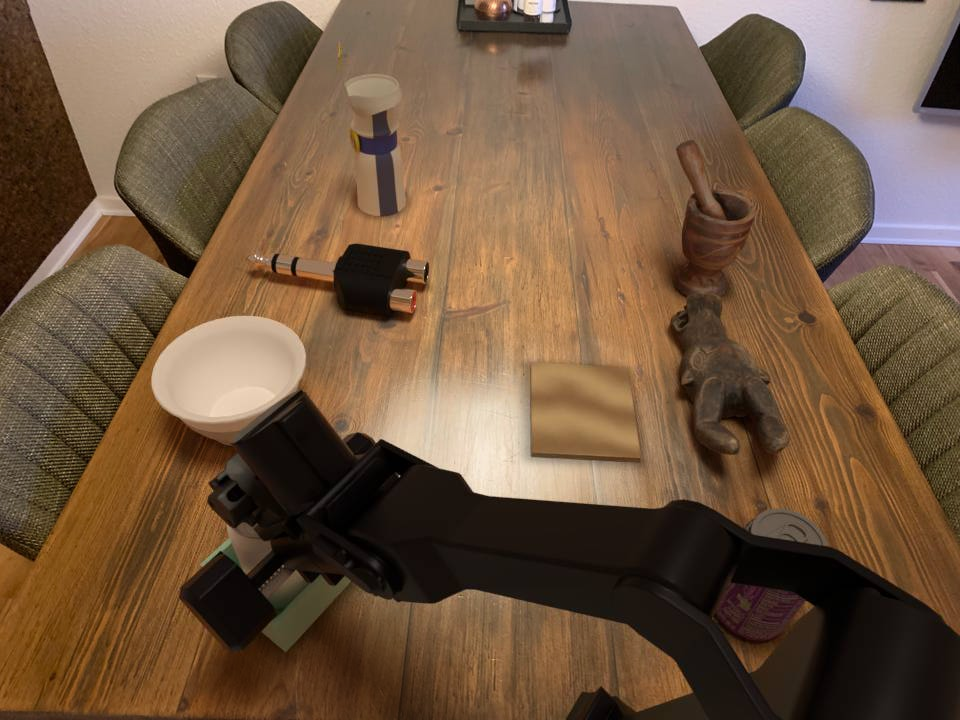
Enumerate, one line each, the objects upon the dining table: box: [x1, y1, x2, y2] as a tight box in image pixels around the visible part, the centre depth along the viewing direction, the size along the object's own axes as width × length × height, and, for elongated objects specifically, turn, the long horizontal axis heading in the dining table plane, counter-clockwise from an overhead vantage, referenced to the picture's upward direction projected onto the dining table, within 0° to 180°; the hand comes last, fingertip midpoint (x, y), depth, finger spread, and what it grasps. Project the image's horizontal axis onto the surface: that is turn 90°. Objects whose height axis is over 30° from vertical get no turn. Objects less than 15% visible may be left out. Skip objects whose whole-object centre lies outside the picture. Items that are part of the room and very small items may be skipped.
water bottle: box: [337, 41, 407, 217], centre depth 104 cm, size 8×9×25 cm
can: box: [226, 523, 310, 608], centre depth 63 cm, size 6×6×12 cm
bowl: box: [150, 315, 307, 447], centre depth 78 cm, size 16×16×9 cm
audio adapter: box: [245, 243, 430, 317], centre depth 96 cm, size 11×5×25 cm
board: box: [530, 361, 642, 463], centre depth 83 cm, size 14×12×1 cm
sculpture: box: [669, 292, 791, 456], centre depth 84 cm, size 10×26×7 cm, turn 0°
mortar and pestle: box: [672, 139, 757, 299], centre depth 94 cm, size 12×9×20 cm
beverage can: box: [715, 507, 829, 642], centre depth 63 cm, size 7×7×12 cm
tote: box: [199, 537, 352, 653], centre depth 66 cm, size 10×10×5 cm
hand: (263, 533), depth 63 cm, fingers open, 9 cm apart
